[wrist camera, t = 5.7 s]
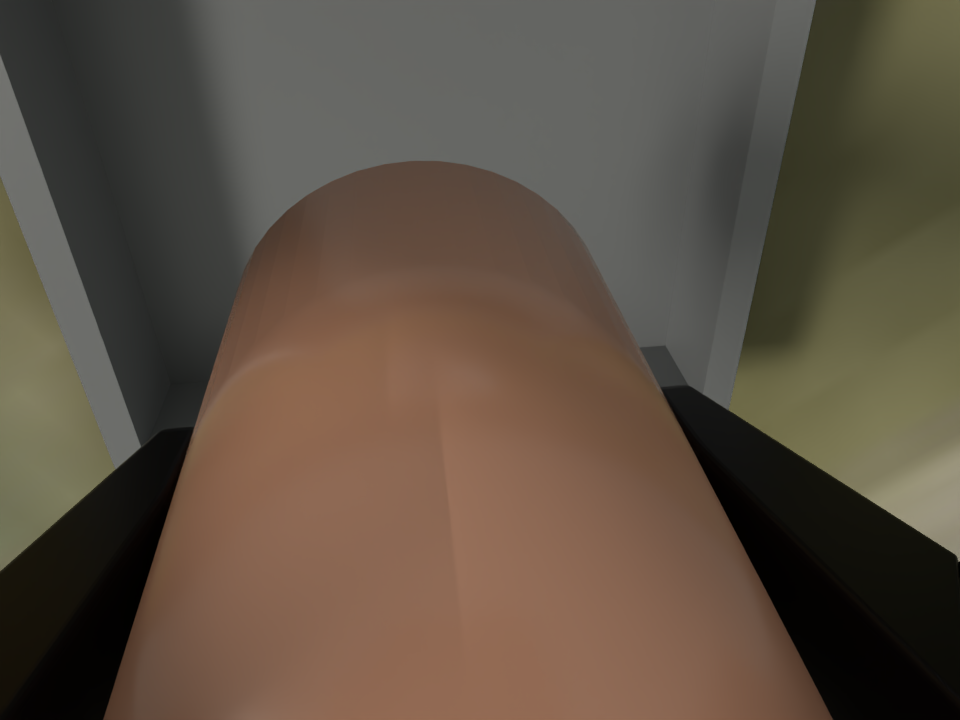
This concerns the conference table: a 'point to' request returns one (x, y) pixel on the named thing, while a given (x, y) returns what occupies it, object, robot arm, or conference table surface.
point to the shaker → (444, 490)
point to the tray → (383, 156)
